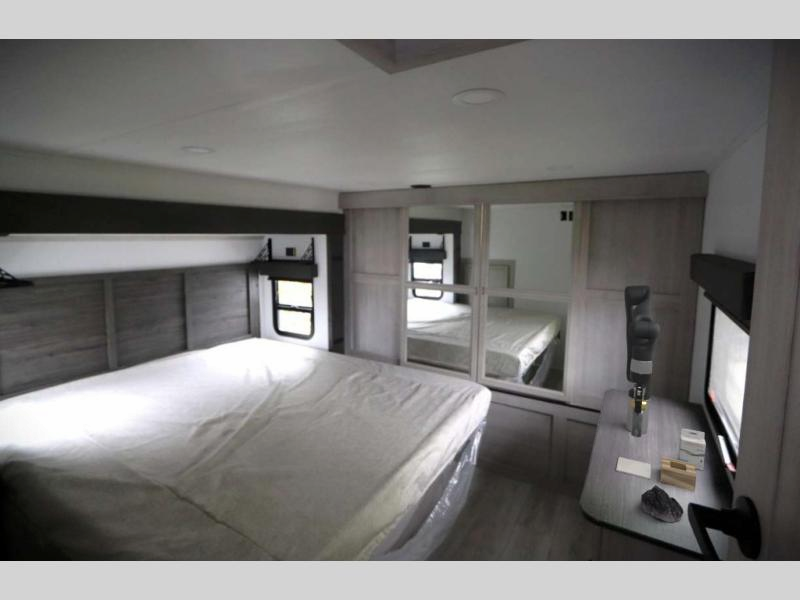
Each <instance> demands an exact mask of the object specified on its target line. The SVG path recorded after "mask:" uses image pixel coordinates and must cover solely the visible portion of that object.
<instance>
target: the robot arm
mask: <svg viewBox="0 0 800 600" xmlns="http://www.w3.org/2000/svg"><path fill="white" fill-rule="evenodd" d="M623 295H624V306H625V319H626V321H625V322H626V325H625V328H626V329H625V331H626V332H625V333H626V334H625V337H626V338H625V339H626V354H627V355H626V372H625V373H626V374H625V375H626V376H625V377H626V380H627V381H628V382H629V383H633V384H634V386H633V388H630V389H629V390H628V396H627V409H626V410H627V411H626V412H627V413H626V425H625V428H626V430H627V431H629V432H631V430H632V416H633V408H631V407H630V405H631V399H632V398H635V401H634V403H635V413H641V405H642V399H644V400H646V401H647V405H646V410H643V420H642V432H641V435H642V434H647V433H648V426H649V415H650V414H649V413H650V402H651V401H650V400H651V392H652V391H651V390H652V381H653V375H654V373H653V352H654V347H655V344H656V343H657V342H656V341H657V340H658V338H659V336H660V333H661V327H660V325H659V324H658V323H657V322H655V321H653V320H654V319H653V314H652V310H653V298H654V296H653V289H652V287H651V286H650V285H646V284H645V285H644V284H643V285H642V284H641V285H628V286H626V287H625V289H624V294H623ZM634 306H636V307H634ZM637 399H640V400H641V401H636V400H637Z"/></svg>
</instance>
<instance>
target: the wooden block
mask: <svg viewBox="0 0 800 600" xmlns="http://www.w3.org/2000/svg"><path fill="white" fill-rule="evenodd" d="M660 463H661V464H660V480H659V481H660V484H664V485H667V486H672V487H676V488H679V489H683V490H686V491H692V492H694V493H695V491H696V483H697V473H696V469H695V464H694V463H690V462H685V461H681V460H678V459H676V458H671V457H667V456H661V461H660Z"/></svg>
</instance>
